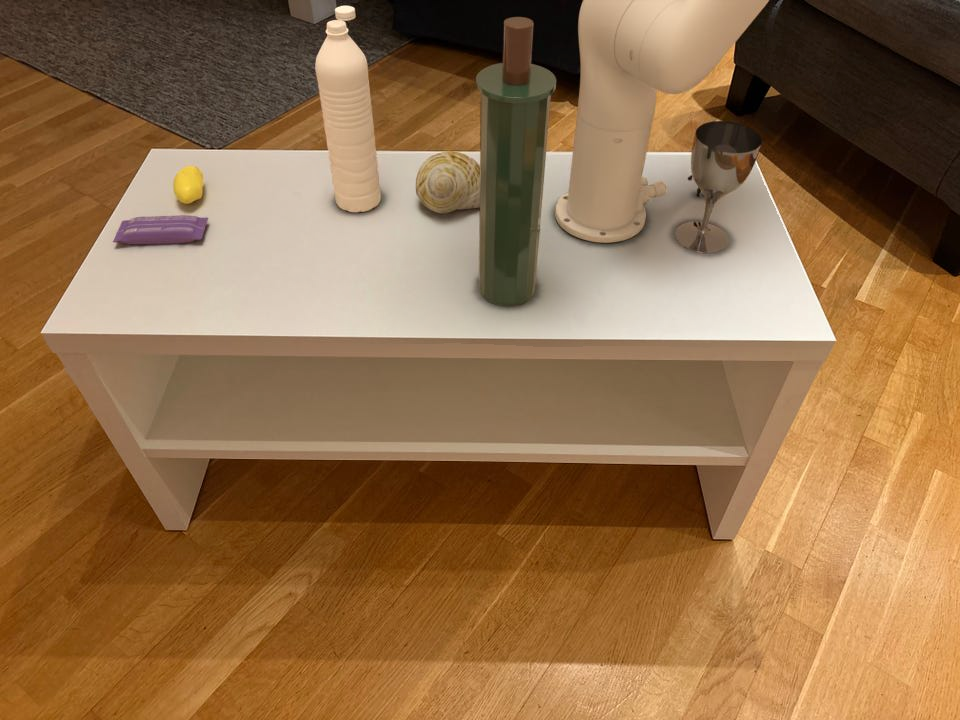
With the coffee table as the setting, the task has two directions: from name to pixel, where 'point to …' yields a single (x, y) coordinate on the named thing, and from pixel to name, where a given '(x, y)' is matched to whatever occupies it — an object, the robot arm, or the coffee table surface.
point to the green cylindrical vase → (511, 197)
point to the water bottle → (348, 116)
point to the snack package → (161, 229)
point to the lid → (516, 68)
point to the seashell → (449, 182)
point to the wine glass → (717, 176)
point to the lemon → (188, 184)
